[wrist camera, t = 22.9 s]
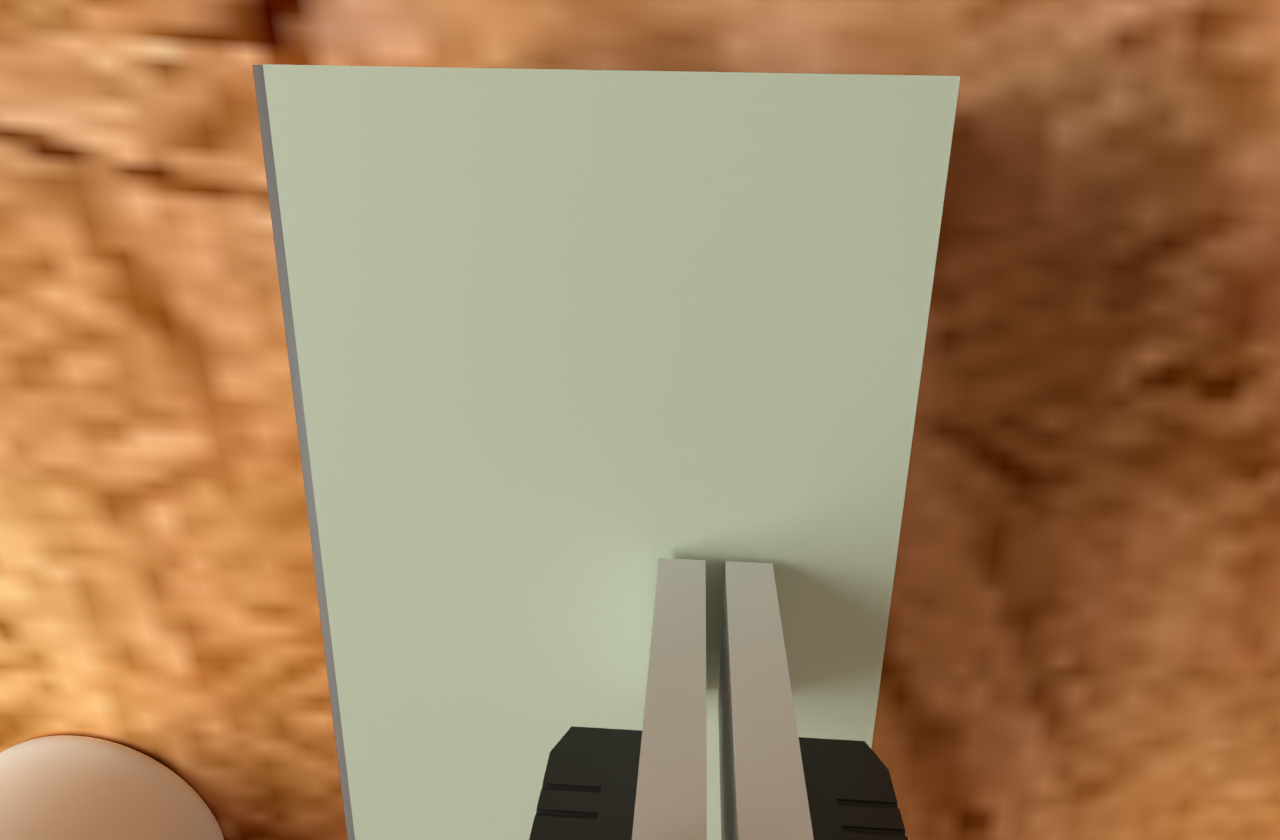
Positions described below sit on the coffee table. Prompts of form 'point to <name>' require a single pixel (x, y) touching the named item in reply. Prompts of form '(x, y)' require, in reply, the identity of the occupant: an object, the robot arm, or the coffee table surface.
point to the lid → (591, 395)
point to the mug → (96, 794)
